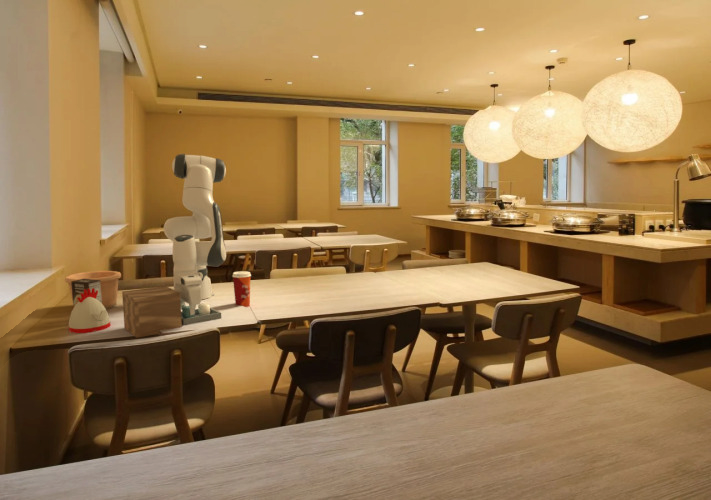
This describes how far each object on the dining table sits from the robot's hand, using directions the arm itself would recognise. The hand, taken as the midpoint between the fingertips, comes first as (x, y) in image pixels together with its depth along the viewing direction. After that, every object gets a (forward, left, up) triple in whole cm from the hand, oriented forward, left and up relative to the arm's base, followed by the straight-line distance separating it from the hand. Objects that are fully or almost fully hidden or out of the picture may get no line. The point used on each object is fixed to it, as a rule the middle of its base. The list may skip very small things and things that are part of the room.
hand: (187, 311), depth 193 cm
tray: (0, +4, -4) cm, 5 cm away
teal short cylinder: (0, 0, -3) cm, 3 cm away
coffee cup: (-11, +29, -4) cm, 31 cm away
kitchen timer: (-17, -31, -4) cm, 36 cm away
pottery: (-52, -22, -4) cm, 57 cm away
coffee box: (-30, -29, -4) cm, 42 cm away
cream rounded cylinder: (0, +7, -3) cm, 7 cm away
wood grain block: (0, -13, -4) cm, 14 cm away
